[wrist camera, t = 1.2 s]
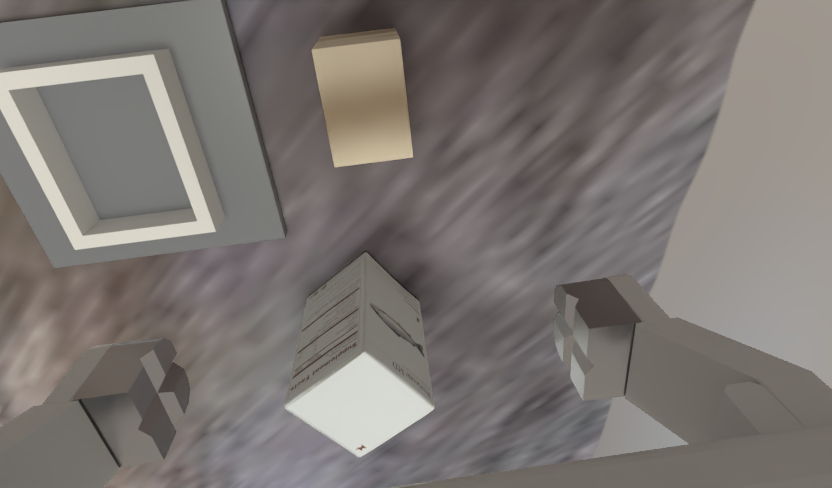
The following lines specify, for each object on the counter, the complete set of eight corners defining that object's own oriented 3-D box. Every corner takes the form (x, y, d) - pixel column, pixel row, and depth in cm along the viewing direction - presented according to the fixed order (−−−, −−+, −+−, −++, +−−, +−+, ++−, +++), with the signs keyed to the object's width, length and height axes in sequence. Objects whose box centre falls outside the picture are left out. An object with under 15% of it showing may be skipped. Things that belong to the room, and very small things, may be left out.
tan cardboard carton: (320, 36, 32) (311, 49, 27) (395, 27, 32) (400, 38, 27) (339, 138, 36) (334, 167, 30) (406, 130, 36) (413, 157, 31)
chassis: (-67, 30, 30) (-115, 37, 27) (223, -4, 30) (207, -1, 27) (61, 261, 39) (35, 286, 35) (287, 232, 39) (280, 254, 36)
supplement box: (421, 300, 43) (439, 411, 33) (360, 343, 45) (357, 463, 34) (366, 247, 40) (365, 350, 29) (303, 296, 42) (280, 411, 31)
